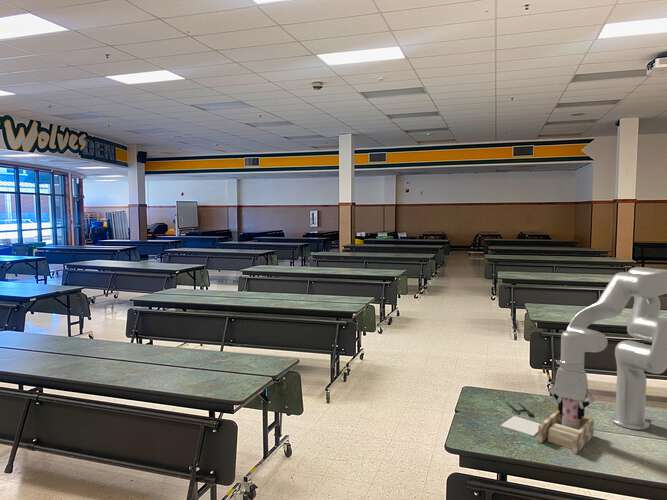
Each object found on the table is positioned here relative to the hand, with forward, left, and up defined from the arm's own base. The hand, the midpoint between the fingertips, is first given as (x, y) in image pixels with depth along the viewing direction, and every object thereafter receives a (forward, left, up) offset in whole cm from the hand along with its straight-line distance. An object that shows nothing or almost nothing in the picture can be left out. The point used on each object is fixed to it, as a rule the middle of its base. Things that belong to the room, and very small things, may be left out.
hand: (570, 415), depth 168 cm
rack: (+4, 0, -8) cm, 9 cm away
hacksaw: (-12, -27, -8) cm, 31 cm away
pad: (+4, -15, -8) cm, 18 cm away
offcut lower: (+7, 0, -8) cm, 11 cm away
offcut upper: (+7, 0, -6) cm, 9 cm away
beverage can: (0, 0, -7) cm, 7 cm away
